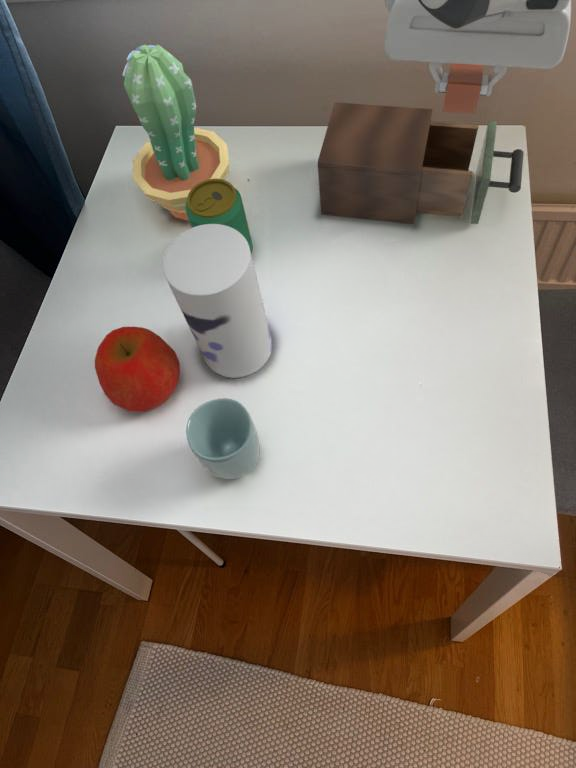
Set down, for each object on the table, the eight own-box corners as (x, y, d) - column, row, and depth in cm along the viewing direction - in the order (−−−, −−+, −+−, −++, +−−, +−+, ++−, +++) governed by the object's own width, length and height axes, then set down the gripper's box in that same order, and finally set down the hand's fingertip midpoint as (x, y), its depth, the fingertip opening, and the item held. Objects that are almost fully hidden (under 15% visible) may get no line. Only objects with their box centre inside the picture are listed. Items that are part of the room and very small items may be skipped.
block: (477, 92, 75) (484, 63, 71) (474, 114, 73) (481, 85, 69) (446, 90, 75) (451, 61, 72) (442, 111, 74) (447, 83, 70)
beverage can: (264, 253, 89) (251, 196, 79) (223, 283, 88) (205, 228, 77) (233, 225, 93) (217, 166, 82) (193, 253, 91) (171, 197, 80)
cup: (211, 494, 73) (192, 469, 64) (199, 438, 77) (179, 408, 68) (271, 476, 73) (259, 449, 64) (256, 422, 77) (243, 389, 68)
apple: (198, 362, 82) (178, 322, 72) (163, 430, 78) (137, 396, 68) (133, 341, 84) (105, 300, 75) (96, 405, 80) (62, 369, 71)
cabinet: (424, 165, 94) (432, 108, 85) (414, 224, 89) (421, 171, 79) (336, 157, 97) (334, 102, 87) (321, 214, 92) (317, 162, 82)
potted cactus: (246, 166, 98) (215, 18, 76) (229, 238, 91) (189, 98, 69) (160, 164, 100) (104, 19, 78) (137, 233, 94) (69, 97, 72)
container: (193, 369, 81) (147, 284, 64) (217, 311, 85) (181, 216, 68) (260, 385, 79) (232, 301, 61) (281, 324, 83) (261, 230, 65)
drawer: (515, 171, 90) (530, 124, 83) (510, 227, 86) (525, 182, 78) (398, 161, 94) (402, 114, 86) (387, 214, 89) (391, 170, 81)
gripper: (381, -13, 61) (376, 102, 73) (588, -6, 57) (545, 114, 70) (390, -48, 64) (384, 69, 76) (589, -43, 60) (547, 79, 72)
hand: (462, 91), depth 73 cm, fingers closed on block, 4 cm apart
